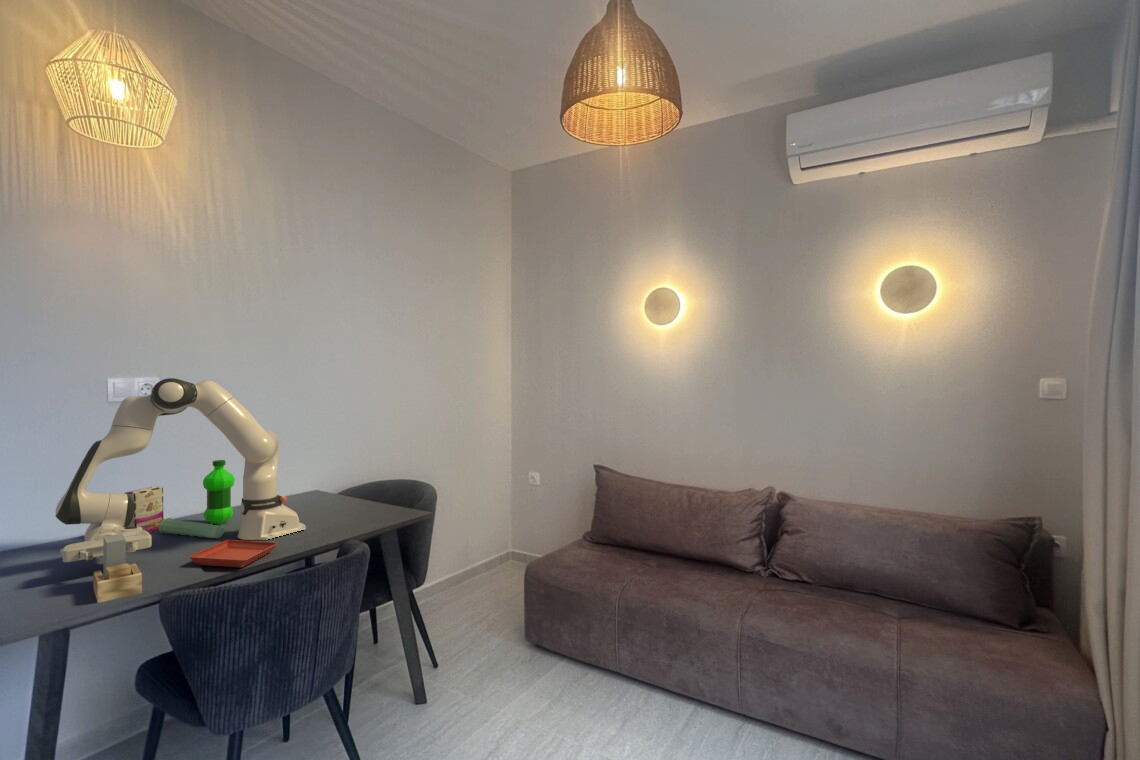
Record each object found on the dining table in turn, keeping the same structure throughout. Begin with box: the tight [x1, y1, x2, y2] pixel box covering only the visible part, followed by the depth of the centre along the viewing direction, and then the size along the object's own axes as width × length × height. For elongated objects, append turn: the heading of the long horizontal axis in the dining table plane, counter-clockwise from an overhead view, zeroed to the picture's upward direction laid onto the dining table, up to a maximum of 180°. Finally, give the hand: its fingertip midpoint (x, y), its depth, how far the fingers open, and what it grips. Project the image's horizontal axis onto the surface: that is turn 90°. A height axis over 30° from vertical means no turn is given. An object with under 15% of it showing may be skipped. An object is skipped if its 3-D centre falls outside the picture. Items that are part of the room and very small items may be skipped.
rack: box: [93, 563, 143, 604], centre depth 145 cm, size 9×12×6 cm
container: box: [158, 517, 225, 539], centre depth 197 cm, size 6×6×25 cm
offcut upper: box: [106, 563, 131, 580], centre depth 144 cm, size 4×4×3 cm
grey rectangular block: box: [102, 533, 127, 580], centre depth 150 cm, size 4×8×14 cm, turn 46°
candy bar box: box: [124, 485, 164, 534], centre depth 200 cm, size 11×5×16 cm, turn 168°
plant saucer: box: [188, 539, 278, 568], centre depth 172 cm, size 18×18×3 cm
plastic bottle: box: [202, 459, 235, 525], centre depth 213 cm, size 10×10×25 cm
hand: (111, 553), depth 154 cm, fingers open, 8 cm apart
